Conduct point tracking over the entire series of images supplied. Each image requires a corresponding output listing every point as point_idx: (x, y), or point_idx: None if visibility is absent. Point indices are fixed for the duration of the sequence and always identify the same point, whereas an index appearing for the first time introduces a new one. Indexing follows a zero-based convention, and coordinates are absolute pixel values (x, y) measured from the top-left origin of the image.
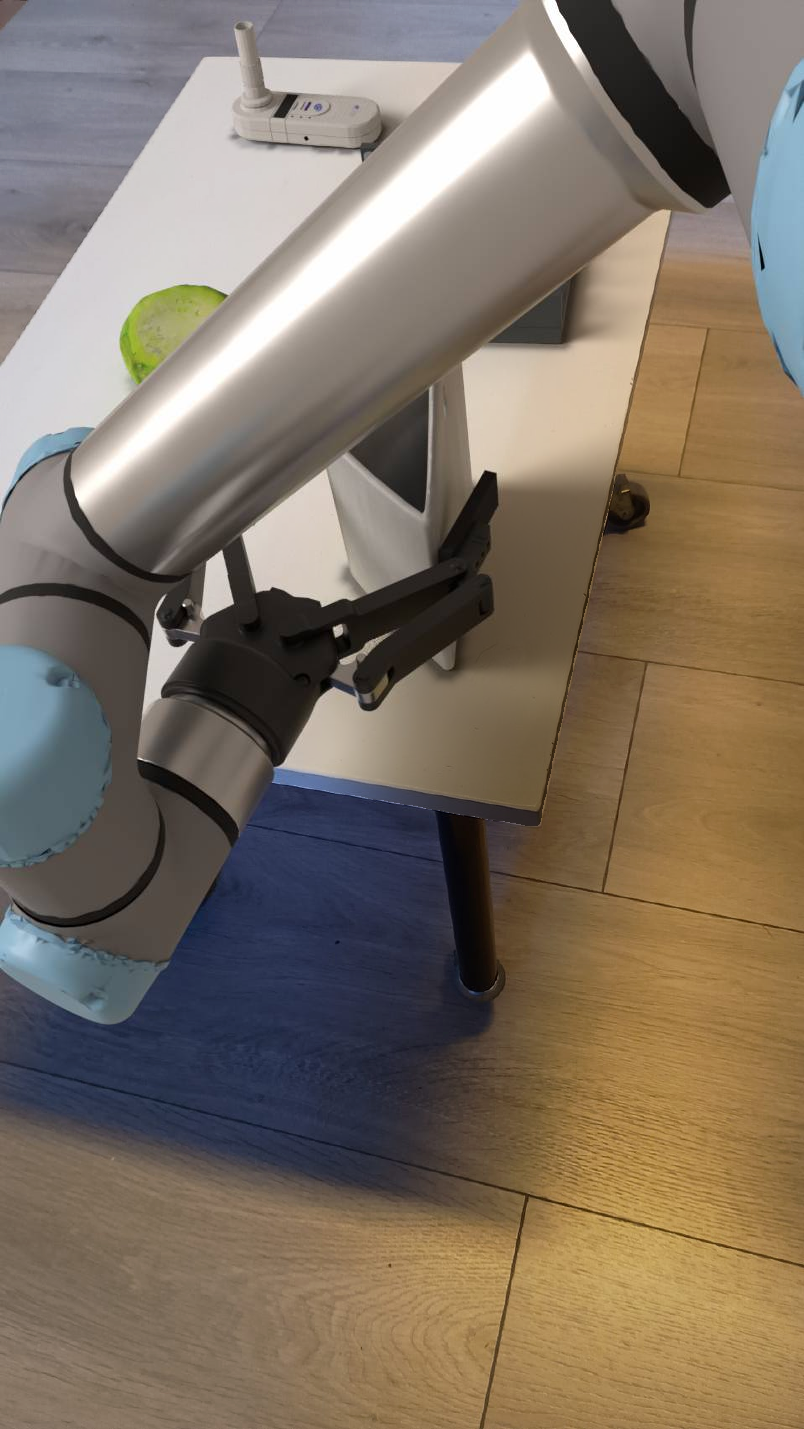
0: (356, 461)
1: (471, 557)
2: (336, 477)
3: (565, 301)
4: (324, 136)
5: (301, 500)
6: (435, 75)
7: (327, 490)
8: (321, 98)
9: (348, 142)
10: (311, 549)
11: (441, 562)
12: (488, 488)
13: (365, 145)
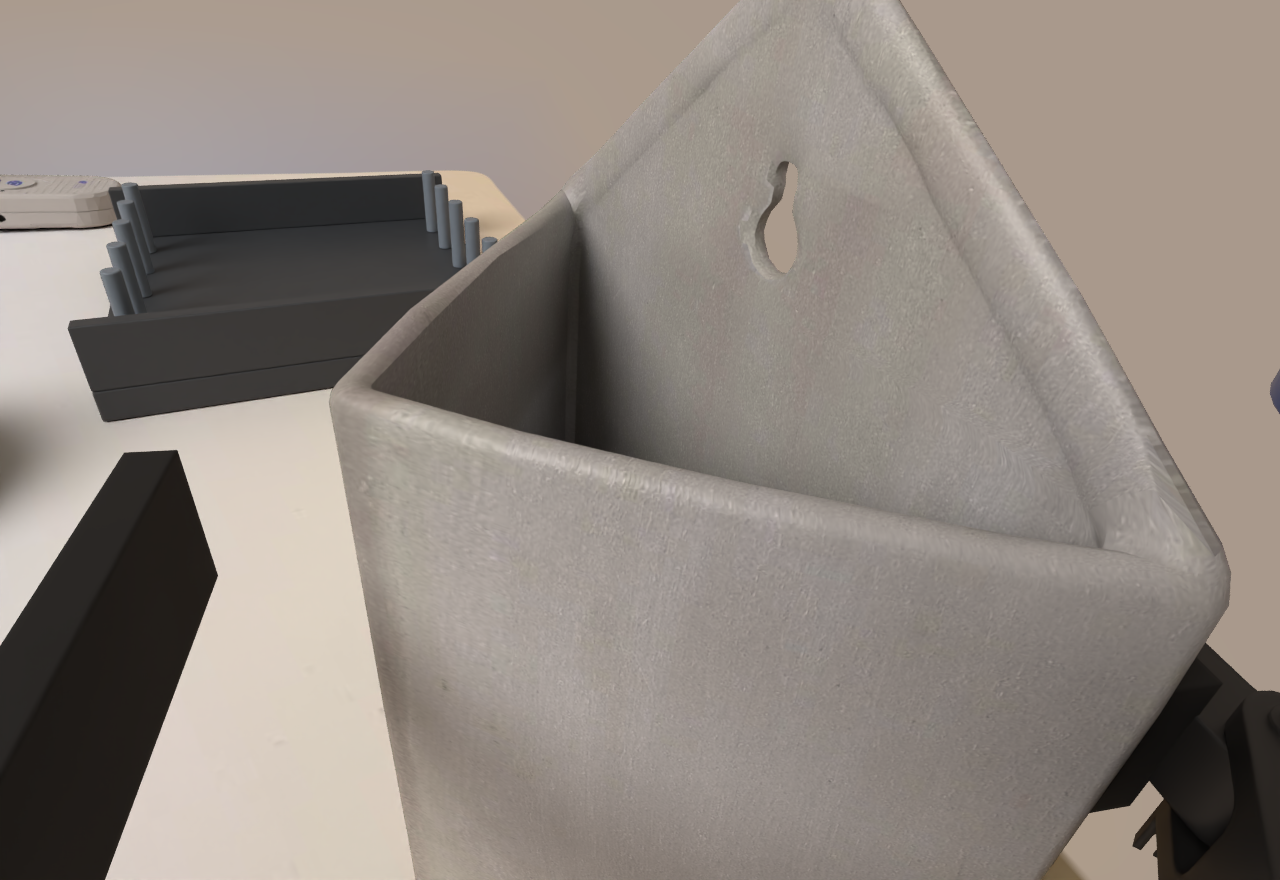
0: (616, 456)
1: (1224, 675)
2: (441, 588)
3: None
4: (34, 213)
5: (170, 740)
6: (185, 176)
7: (239, 687)
8: (18, 177)
9: (78, 219)
10: (256, 871)
11: (1136, 747)
12: None
13: (117, 188)
